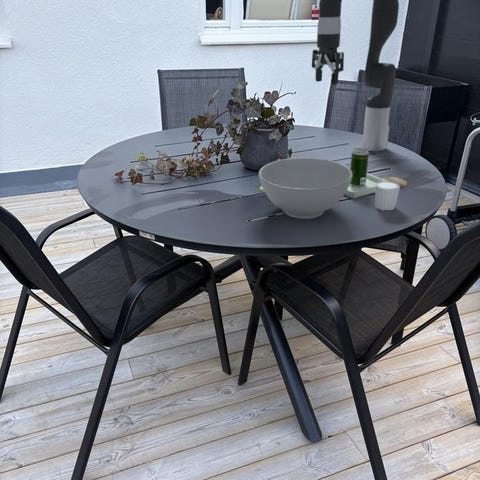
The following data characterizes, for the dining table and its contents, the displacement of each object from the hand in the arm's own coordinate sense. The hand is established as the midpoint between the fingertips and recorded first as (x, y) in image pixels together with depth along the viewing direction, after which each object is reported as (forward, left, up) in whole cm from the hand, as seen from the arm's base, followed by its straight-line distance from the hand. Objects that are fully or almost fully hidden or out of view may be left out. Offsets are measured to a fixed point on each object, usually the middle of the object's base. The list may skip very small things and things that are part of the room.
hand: (326, 82), depth 160 cm
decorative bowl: (+30, +30, -30) cm, 52 cm away
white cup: (+8, +41, -30) cm, 52 cm away
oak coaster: (-8, +28, -30) cm, 42 cm away
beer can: (+4, +24, -29) cm, 38 cm away
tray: (+4, +24, -30) cm, 39 cm away
